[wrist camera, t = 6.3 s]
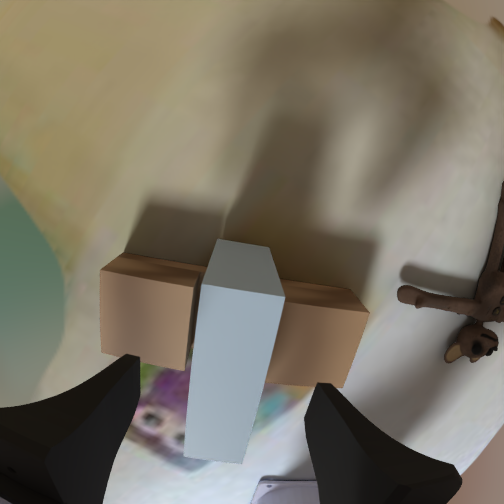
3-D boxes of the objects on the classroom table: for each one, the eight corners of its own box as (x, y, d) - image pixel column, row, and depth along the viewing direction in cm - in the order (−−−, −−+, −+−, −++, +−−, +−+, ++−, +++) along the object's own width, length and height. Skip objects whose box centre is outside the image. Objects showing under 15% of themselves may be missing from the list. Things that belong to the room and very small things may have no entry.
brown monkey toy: (580, 222, 16) (535, 378, 18) (549, 218, 20) (508, 360, 22) (454, 134, 14) (389, 377, 16) (418, 143, 19) (364, 348, 21)
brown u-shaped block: (350, 289, 19) (369, 312, 16) (329, 357, 20) (342, 387, 17) (123, 252, 18) (100, 269, 15) (120, 325, 19) (101, 352, 16)
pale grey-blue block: (268, 247, 17) (285, 296, 11) (241, 381, 20) (242, 464, 13) (217, 238, 17) (201, 283, 10) (198, 375, 19) (183, 456, 13)
